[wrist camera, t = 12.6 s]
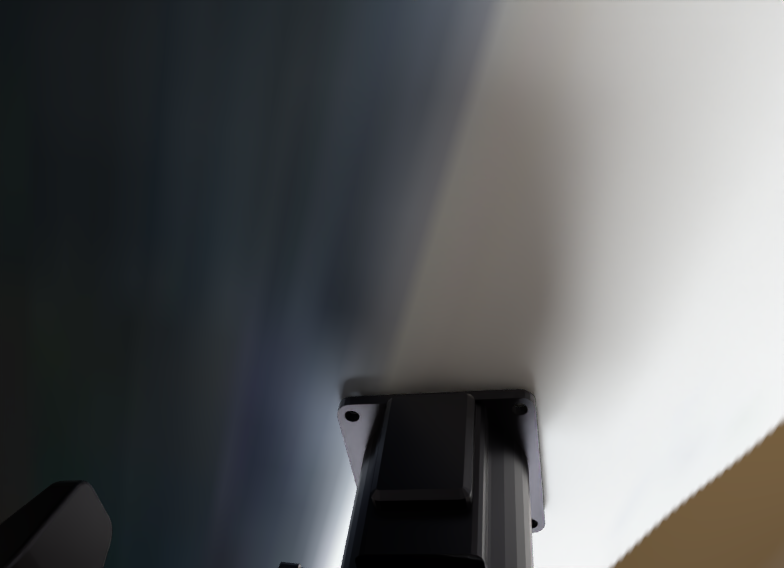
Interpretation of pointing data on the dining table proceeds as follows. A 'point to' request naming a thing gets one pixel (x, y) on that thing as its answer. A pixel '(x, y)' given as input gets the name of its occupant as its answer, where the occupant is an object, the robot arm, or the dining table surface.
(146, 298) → the dining table surface
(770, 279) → the dining table surface
